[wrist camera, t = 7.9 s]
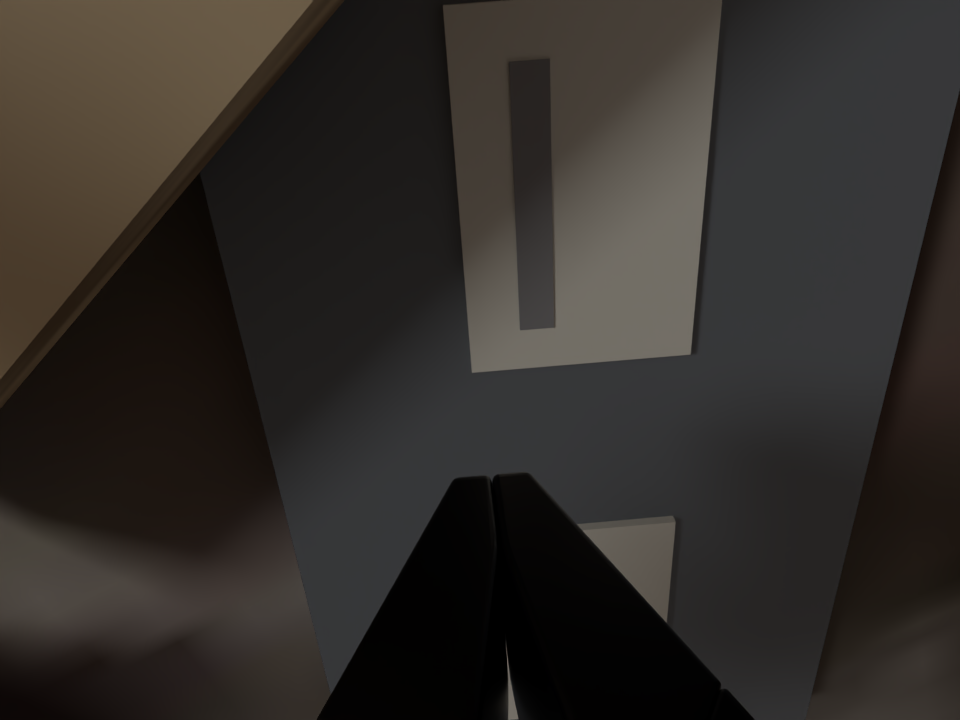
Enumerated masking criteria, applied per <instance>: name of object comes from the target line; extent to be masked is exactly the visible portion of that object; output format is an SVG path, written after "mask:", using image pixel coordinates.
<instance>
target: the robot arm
mask: <svg viewBox="0 0 960 720" xmlns="http://www.w3.org/2000/svg"><path fill="white" fill-rule="evenodd" d="M506 647H507V650H506ZM507 658H508V665H509V673H510V680H511V685H512V691H513V696H514V701H515V706H516V710H517V715H518V719H519V720H755V719H754V718H753V717H752V716H751V715H750V714H749V712H748V711H747V710H746V709H745V708H744V707H743V706H742V705H741V704H740V702H739V701H738V700H737V699H736V698H735V697H734V696H733V695H732V694H731V692H730V691H729V690H727V689H721V683H720V681H719V680H718V679H717V678H716V677H715V675H714V674H713V673H712V672H711V671H710V670H709V669H708V668H707V667H706V666H705V664H704V663H703V662H702V661H701V660H700V659H699V658H698V657H697V656H696V655H695V653H694V652H693V651H692V650H691V649H690V648H689V647H688V646H687V645H686V644H685V642H684V641H683V640H682V639H681V638H680V637H679V636H678V635H677V634H676V633H675V632H674V630H673V629H672V628H671V627H670V626H669V625H668V624H667V623H666V622H665V621H664V619H663V618H662V617H661V616H660V615H659V614H658V613H657V612H656V611H655V610H654V608H653V607H652V606H651V605H650V604H649V603H648V602H647V601H646V600H645V599H644V597H643V596H642V595H641V594H640V593H639V592H638V591H637V590H636V589H635V588H634V586H633V585H632V584H631V583H630V582H629V581H628V580H627V579H626V578H625V577H624V575H623V574H622V573H621V572H620V571H619V570H618V569H617V568H616V567H615V566H614V564H613V563H612V562H611V561H610V560H609V559H608V558H607V557H606V556H605V555H604V554H603V552H602V551H601V550H600V549H599V548H598V547H597V546H596V545H595V544H594V543H593V541H592V540H591V539H590V538H589V537H588V536H587V535H586V534H585V533H584V532H583V530H582V529H581V528H580V527H579V526H578V525H577V524H576V523H575V522H574V521H573V519H572V518H571V517H570V516H569V515H568V514H567V513H566V512H565V511H564V510H563V508H562V507H561V506H560V505H559V504H558V503H557V502H556V501H555V500H554V499H553V497H552V496H551V495H550V494H549V493H548V492H547V491H546V490H545V489H544V488H543V487H542V485H541V484H540V483H539V482H538V481H537V480H536V479H535V478H534V477H533V476H532V475H531V474H530V473H528V472H514V473H502V474H496V475H495V476H494V477H493V479H492V481H491V478H490V477H489V476H487V475H479V476H467V477H458V478H455V479H454V480H453V481H452V482H451V484H450V485H449V487H448V489H447V491H446V492H445V494H444V496H443V498H442V500H441V501H440V503H439V505H438V507H437V508H436V510H435V512H434V514H433V515H432V517H431V519H430V521H429V522H428V524H427V526H426V528H425V529H424V531H423V533H422V535H421V537H420V538H419V540H418V542H417V544H416V545H415V547H414V549H413V551H412V552H411V554H410V556H409V558H408V559H407V561H406V563H405V565H404V566H403V568H402V570H401V572H400V573H399V575H398V577H397V579H396V581H395V582H394V584H393V586H392V588H391V589H390V591H389V593H388V595H387V596H386V598H385V600H384V602H383V603H382V605H381V607H380V609H379V610H378V612H377V614H376V616H375V618H374V619H373V621H372V623H371V625H370V626H369V628H368V630H367V632H366V633H365V635H364V637H363V639H362V640H361V642H360V644H359V646H358V647H357V649H356V651H355V653H354V655H353V656H352V658H351V660H350V662H349V663H348V665H347V667H346V669H345V670H344V672H343V674H342V676H341V677H340V679H339V681H338V683H337V684H336V686H335V688H334V690H333V692H332V693H331V695H330V697H329V699H328V700H327V702H326V704H325V706H324V707H323V709H322V711H321V713H320V714H319V716H318V718H317V720H508V703H509V699H508V665H507Z"/></svg>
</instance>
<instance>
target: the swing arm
mask: <svg viewBox="0 0 960 720" xmlns="http://www.w3.org/2000/svg"><path fill="white" fill-rule="evenodd" d="M343 2H344V0H0V409H1V408H2V406H3V405H4V404H5V403H6V402H7V400H8V399H9V398H10V397H11V396H12V394H13V393H14V392H15V391H16V390H17V389H18V387H19V386H20V385H21V384H22V383H23V381H24V380H25V379H26V378H27V377H28V376H29V374H30V373H31V372H32V371H33V370H34V368H35V367H36V366H37V365H38V364H39V362H40V361H41V360H42V359H43V358H44V357H45V355H46V354H47V353H48V352H49V351H50V349H51V348H52V347H53V346H54V345H55V343H56V342H57V341H58V340H59V339H60V338H61V336H62V335H63V334H64V333H65V332H66V330H67V329H68V328H69V327H70V326H71V324H72V323H73V322H74V321H75V320H76V319H77V317H78V316H79V315H80V314H81V313H82V311H83V310H84V309H85V308H86V307H87V305H88V304H89V303H90V302H91V301H92V300H93V298H94V297H95V296H96V295H97V294H98V292H99V291H100V290H101V289H102V288H103V286H104V285H105V284H106V283H107V282H108V281H109V279H110V278H111V277H112V276H113V275H114V273H115V272H116V271H117V270H118V269H119V268H120V266H121V265H122V264H123V263H124V262H125V260H126V259H127V258H128V257H129V256H130V254H131V253H132V252H133V251H134V250H135V249H136V247H137V246H138V245H139V244H140V243H141V241H142V240H143V239H144V238H145V237H146V235H147V234H148V233H149V232H150V231H151V230H152V228H153V227H154V226H155V225H156V224H157V222H158V221H159V220H160V219H161V218H162V216H163V215H164V214H165V213H166V212H167V211H168V209H169V208H170V207H171V206H172V205H173V203H174V202H175V201H176V200H177V199H178V197H179V196H180V195H181V194H182V193H183V192H184V190H185V189H186V188H187V187H188V186H189V184H190V183H191V182H192V181H193V180H194V179H195V177H196V176H197V175H198V174H199V173H200V171H201V170H202V169H203V168H204V167H205V165H206V164H207V163H208V162H209V161H210V160H211V158H212V157H213V156H214V155H215V154H216V152H217V151H218V150H219V149H220V148H221V146H222V145H223V144H224V143H225V142H226V141H227V139H228V138H229V137H230V136H231V135H232V133H233V132H234V131H235V130H236V129H237V127H238V126H239V125H240V124H241V123H242V122H243V120H244V119H245V118H246V117H247V116H248V114H249V113H250V112H251V111H252V110H253V108H254V107H255V106H256V105H257V104H258V103H259V101H260V100H261V99H262V98H263V97H264V95H265V94H266V93H267V92H268V91H269V89H270V88H271V87H272V86H273V85H274V84H275V82H276V81H277V80H278V79H279V78H280V76H281V75H282V74H283V73H284V72H285V71H286V69H287V68H288V67H289V66H290V65H291V63H292V62H293V61H294V60H295V59H296V57H297V56H298V55H299V54H300V53H301V52H302V50H303V49H304V48H305V47H306V46H307V44H308V43H309V42H310V41H311V40H312V38H313V37H314V36H315V35H316V34H317V33H318V31H319V30H320V29H321V28H322V27H323V25H324V24H325V23H326V22H327V21H328V19H329V18H330V17H331V16H332V15H333V14H334V12H335V11H336V10H337V9H338V8H339V6H340V5H341V4H342V3H343Z"/></svg>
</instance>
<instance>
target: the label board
mask: <svg viewBox="0 0 960 720" xmlns="http://www.w3.org/2000/svg"><path fill="white" fill-rule="evenodd" d="M959 91H960V0H344V2H343V3H342V4H341V5H340V6H339V8H338V9H337V10H336V11H335V12H334V14H333V15H332V16H331V17H330V18H329V19H328V21H327V22H326V23H325V24H324V25H323V27H322V28H321V29H320V30H319V31H318V33H317V34H316V35H315V36H314V37H313V38H312V40H311V41H310V42H309V43H308V44H307V46H306V47H305V48H304V49H303V50H302V52H301V53H300V54H299V55H298V56H297V57H296V59H295V60H294V61H293V62H292V63H291V65H290V66H289V67H288V68H287V69H286V71H285V72H284V73H283V74H282V75H281V76H280V78H279V79H278V80H277V81H276V82H275V84H274V85H273V86H272V87H271V88H270V89H269V91H268V92H267V93H266V94H265V95H264V97H263V98H262V99H261V100H260V101H259V103H258V104H257V105H256V106H255V107H254V108H253V110H252V111H251V112H250V113H249V114H248V116H247V117H246V118H245V119H244V120H243V122H242V123H241V124H240V125H239V126H238V127H237V129H236V130H235V131H234V132H233V133H232V135H231V136H230V137H229V138H228V139H227V141H226V142H225V143H224V144H223V145H222V146H221V148H220V149H219V150H218V151H217V152H216V154H215V155H214V156H213V157H212V158H211V160H210V161H209V162H208V163H207V164H206V165H205V167H204V168H203V169H202V170H201V171H200V176H201V180H202V184H203V188H204V192H205V196H206V200H207V204H208V208H209V212H210V216H211V220H212V224H213V228H214V232H215V236H216V240H217V244H218V248H219V252H220V255H221V259H222V263H223V267H224V271H225V275H226V279H227V283H228V287H229V291H230V295H231V299H232V303H233V307H234V311H235V315H236V319H237V323H238V327H239V331H240V335H241V339H242V343H243V347H244V351H245V355H246V359H247V363H248V367H249V371H250V375H251V379H252V383H253V387H254V391H255V395H256V399H257V403H258V407H259V411H260V415H261V419H262V423H263V427H264V431H265V435H266V439H267V443H268V446H269V450H270V454H271V458H272V462H273V466H274V470H275V474H276V478H277V482H278V486H279V490H280V494H281V498H282V502H283V506H284V510H285V514H286V518H287V522H288V526H289V530H290V534H291V538H292V542H293V546H294V550H295V554H296V558H297V562H298V566H299V570H300V574H301V578H302V582H303V586H304V590H305V594H306V598H307V602H308V606H309V610H310V614H311V618H312V622H313V626H314V630H315V634H316V637H317V641H318V645H319V649H320V653H321V657H322V661H323V665H324V669H325V673H326V677H327V681H328V685H329V689H330V693H332V692H333V690H334V688H335V686H336V684H337V683H338V681H339V679H340V677H341V676H342V674H343V672H344V670H345V669H346V667H347V665H348V663H349V662H350V660H351V658H352V656H353V655H354V653H355V651H356V649H357V647H358V646H359V644H360V642H361V640H362V639H363V637H364V635H365V633H366V632H367V630H368V628H369V626H370V625H371V623H372V621H373V619H374V618H375V616H376V614H377V612H378V610H379V609H380V607H381V605H382V603H383V602H384V600H385V598H386V596H387V595H388V593H389V591H390V589H391V588H392V586H393V584H394V582H395V581H396V579H397V577H398V575H399V573H400V572H401V570H402V568H403V566H404V565H405V563H406V561H407V559H408V558H409V556H410V554H411V552H412V551H413V549H414V547H415V545H416V544H417V542H418V540H419V538H420V537H421V535H422V533H423V531H424V529H425V528H426V526H427V524H428V522H429V521H430V519H431V517H432V515H433V514H434V512H435V510H436V508H437V507H438V505H439V503H440V501H441V500H442V498H443V496H444V494H445V492H446V491H447V489H448V487H449V485H450V484H451V482H452V481H453V480H454V479H455V478H458V477H467V476H479V475H487V476H489V477H490V478H491V481H492V479H493V477H494V476H495V475H496V474H502V473H514V472H528V473H530V474H531V475H532V476H533V477H534V478H535V479H536V480H537V481H538V482H539V483H540V484H541V485H542V487H543V488H544V489H545V490H546V491H547V492H548V493H549V494H550V495H551V496H552V497H553V499H554V500H555V501H556V502H557V503H558V504H559V505H560V506H561V507H562V508H563V510H564V511H565V512H566V513H567V514H568V515H569V516H570V517H571V518H572V519H573V521H574V522H575V523H576V524H577V525H578V526H579V527H580V528H581V529H582V530H583V532H584V533H585V534H586V535H587V536H588V537H589V538H590V539H591V540H592V541H593V543H594V544H595V545H596V546H597V547H598V548H599V549H600V550H601V551H602V552H603V554H604V555H605V556H606V557H607V558H608V559H609V560H610V561H611V562H612V563H613V564H614V566H615V567H616V568H617V569H618V570H619V571H620V572H621V573H622V574H623V575H624V577H625V578H626V579H627V580H628V581H629V582H630V583H631V584H632V585H633V586H634V588H635V589H636V590H637V591H638V592H639V593H640V594H641V595H642V596H643V597H644V599H645V600H646V601H647V602H648V603H649V604H650V605H651V606H652V607H653V608H654V610H655V611H656V612H657V613H658V614H659V615H660V616H661V617H662V618H663V619H664V621H665V622H666V623H667V624H668V625H669V626H670V627H671V628H672V629H673V630H674V632H675V633H676V634H677V635H678V636H679V637H680V638H681V639H682V640H683V641H684V642H685V644H686V645H687V646H688V647H689V648H690V649H691V650H692V651H693V652H694V653H695V655H696V656H697V657H698V658H699V659H700V660H701V661H702V662H703V663H704V664H705V666H706V667H707V668H708V669H709V670H710V671H711V672H712V673H713V674H714V675H715V677H716V678H717V679H718V680H719V681H720V683H721V689H727V690H729V691H730V692H731V694H732V695H733V696H734V697H735V698H736V699H737V700H738V701H739V702H740V704H741V705H742V706H743V707H744V708H745V709H746V710H747V711H748V712H749V714H750V715H751V716H752V717H753V718H754V719H755V720H805V719H806V715H807V711H808V707H809V703H810V698H811V694H812V690H813V686H814V682H815V678H816V674H817V670H818V666H819V662H820V658H821V654H822V650H823V645H824V641H825V637H826V633H827V629H828V625H829V621H830V617H831V613H832V609H833V605H834V601H835V597H836V592H837V588H838V584H839V580H840V576H841V572H842V568H843V564H844V560H845V556H846V552H847V548H848V543H849V539H850V535H851V531H852V527H853V523H854V519H855V515H856V511H857V507H858V503H859V499H860V495H861V490H862V486H863V482H864V478H865V474H866V470H867V466H868V462H869V458H870V454H871V450H872V446H873V442H874V437H875V433H876V429H877V425H878V421H879V417H880V413H881V409H882V405H883V401H884V397H885V393H886V389H887V384H888V380H889V376H890V372H891V368H892V364H893V360H894V356H895V352H896V348H897V344H898V340H899V336H900V331H901V327H902V323H903V319H904V315H905V311H906V307H907V303H908V299H909V295H910V291H911V287H912V282H913V278H914V274H915V270H916V266H917V262H918V258H919V254H920V250H921V246H922V242H923V238H924V234H925V229H926V225H927V221H928V217H929V213H930V209H931V205H932V201H933V197H934V193H935V189H936V185H937V181H938V176H939V172H940V168H941V164H942V160H943V156H944V152H945V148H946V144H947V140H948V136H949V132H950V128H951V123H952V119H953V115H954V111H955V107H956V103H957V99H958V95H959ZM506 650H507V647H506ZM507 665H508V658H507ZM508 699H509V703H508V720H519V719H518V715H517V710H516V706H515V701H514V696H513V691H512V685H511V680H510V673H509V665H508Z"/></svg>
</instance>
